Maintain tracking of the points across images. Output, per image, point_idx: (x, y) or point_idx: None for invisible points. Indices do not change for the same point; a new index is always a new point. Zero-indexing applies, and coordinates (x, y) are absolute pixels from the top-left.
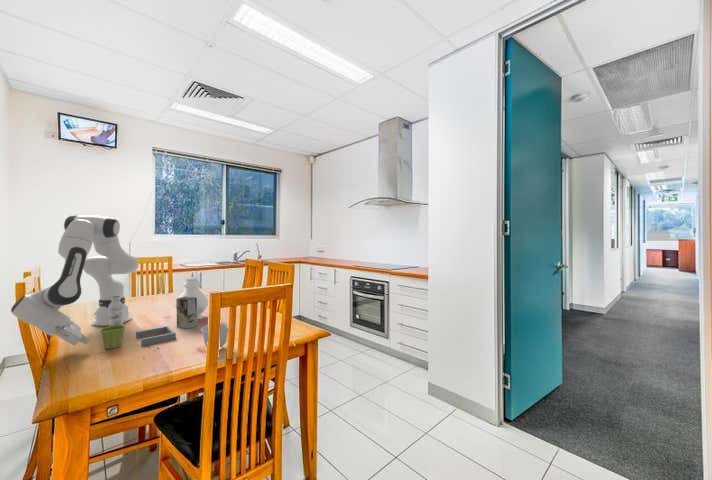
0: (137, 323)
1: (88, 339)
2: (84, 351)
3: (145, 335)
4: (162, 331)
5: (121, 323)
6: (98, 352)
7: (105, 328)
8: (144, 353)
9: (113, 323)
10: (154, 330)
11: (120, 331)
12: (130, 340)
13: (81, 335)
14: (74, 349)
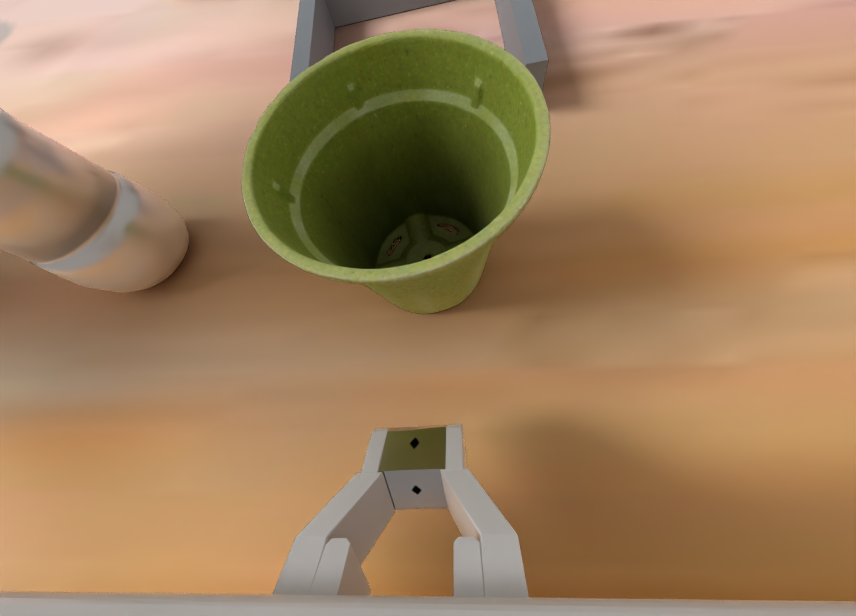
0: None
1: (417, 435)
2: None
3: None
4: (329, 28)
5: (81, 156)
6: (520, 354)
7: (274, 229)
8: (737, 83)
9: (42, 202)
10: (319, 39)
11: (489, 93)
12: None
13: (696, 610)
14: (288, 542)
